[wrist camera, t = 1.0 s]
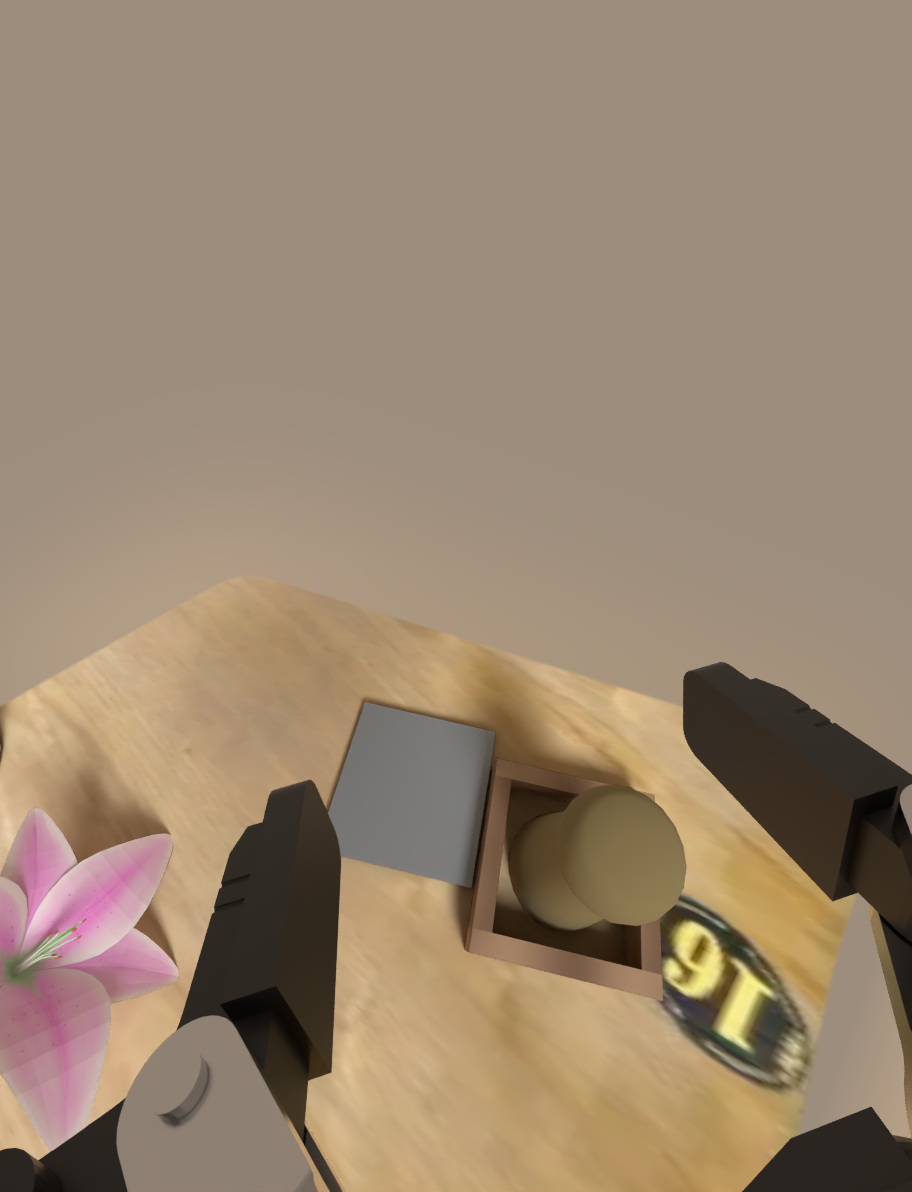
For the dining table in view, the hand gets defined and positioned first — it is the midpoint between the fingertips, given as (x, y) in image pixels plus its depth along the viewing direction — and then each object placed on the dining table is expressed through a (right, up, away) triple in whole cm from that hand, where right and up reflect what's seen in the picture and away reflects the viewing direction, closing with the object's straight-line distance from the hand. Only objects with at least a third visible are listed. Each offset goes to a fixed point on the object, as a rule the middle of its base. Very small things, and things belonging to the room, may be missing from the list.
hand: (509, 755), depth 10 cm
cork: (+5, -13, +18) cm, 22 cm away
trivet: (-4, -9, +19) cm, 22 cm away
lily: (-19, -15, +14) cm, 28 cm away
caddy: (+5, -13, +18) cm, 22 cm away
